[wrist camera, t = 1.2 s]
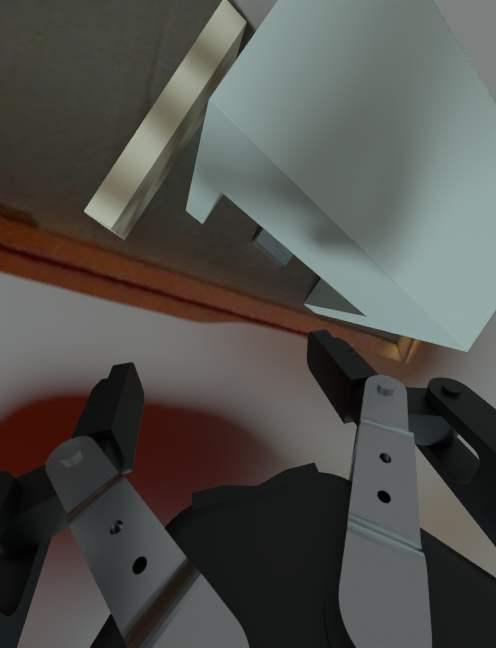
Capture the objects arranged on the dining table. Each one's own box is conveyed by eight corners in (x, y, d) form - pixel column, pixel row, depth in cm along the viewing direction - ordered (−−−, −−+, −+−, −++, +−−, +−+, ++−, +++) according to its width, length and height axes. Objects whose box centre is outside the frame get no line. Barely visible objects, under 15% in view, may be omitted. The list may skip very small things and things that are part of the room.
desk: (315, 312, 39) (467, 351, 19) (185, 210, 32) (208, 99, 12) (366, 238, 39) (570, 198, 19) (248, 120, 32) (376, -141, 12)
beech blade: (124, 240, 31) (110, 229, 24) (104, 226, 30) (83, 211, 23) (229, 80, 31) (246, 22, 24) (212, 63, 30) (224, -3, 23)
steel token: (278, 266, 36) (285, 265, 34) (250, 242, 35) (255, 240, 32) (299, 236, 36) (307, 233, 34) (272, 211, 35) (279, 206, 33)
